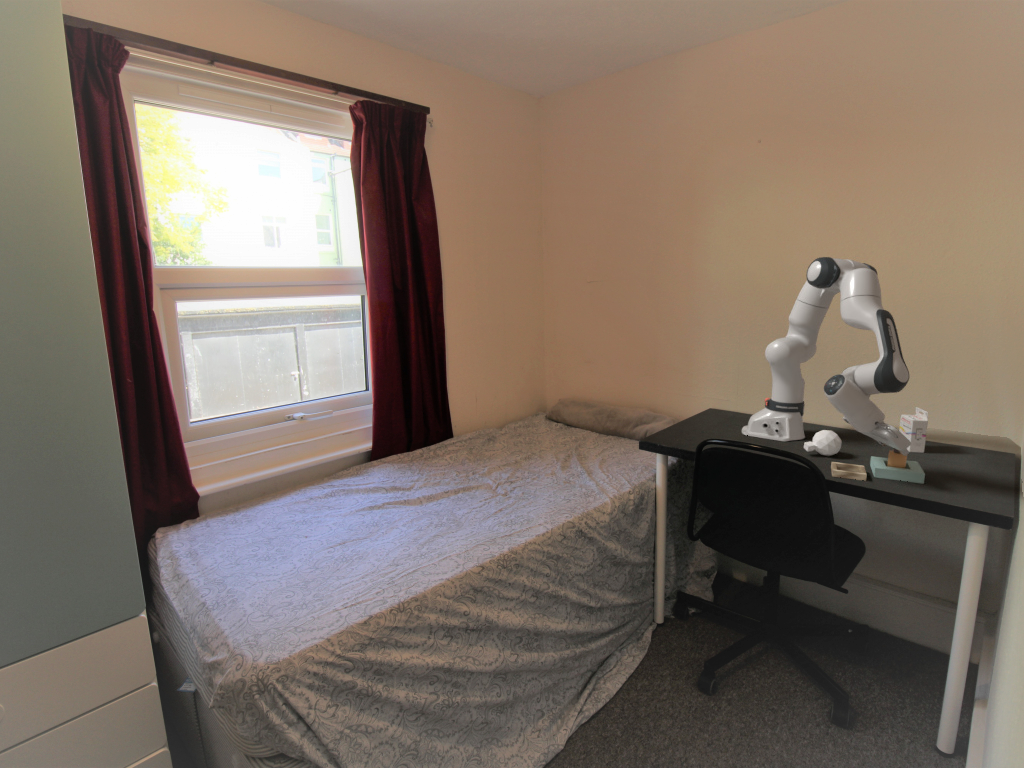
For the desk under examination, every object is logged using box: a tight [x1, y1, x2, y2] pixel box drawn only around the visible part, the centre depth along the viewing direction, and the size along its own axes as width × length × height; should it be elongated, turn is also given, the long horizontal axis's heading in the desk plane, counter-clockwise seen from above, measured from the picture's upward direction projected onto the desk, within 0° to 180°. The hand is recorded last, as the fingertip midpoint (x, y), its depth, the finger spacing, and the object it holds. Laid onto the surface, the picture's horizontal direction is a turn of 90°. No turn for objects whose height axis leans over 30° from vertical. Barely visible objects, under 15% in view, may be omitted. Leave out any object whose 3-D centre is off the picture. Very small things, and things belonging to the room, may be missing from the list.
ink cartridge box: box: [898, 406, 929, 454], centre depth 184 cm, size 9×5×15 cm, turn 168°
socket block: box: [869, 455, 926, 484], centre depth 162 cm, size 12×12×3 cm
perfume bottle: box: [803, 429, 843, 457], centre depth 181 cm, size 9×9×12 cm
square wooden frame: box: [830, 461, 867, 482], centre depth 163 cm, size 9×9×2 cm
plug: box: [887, 448, 908, 469], centre depth 162 cm, size 5×5×10 cm
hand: (895, 448), depth 161 cm, fingers open, 8 cm apart
